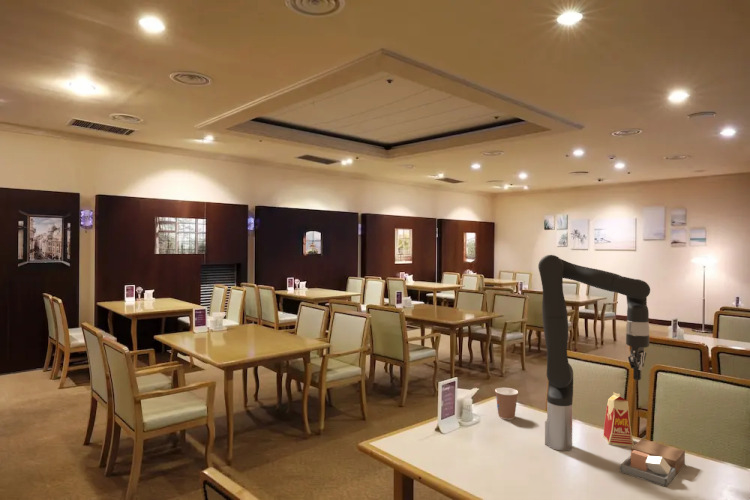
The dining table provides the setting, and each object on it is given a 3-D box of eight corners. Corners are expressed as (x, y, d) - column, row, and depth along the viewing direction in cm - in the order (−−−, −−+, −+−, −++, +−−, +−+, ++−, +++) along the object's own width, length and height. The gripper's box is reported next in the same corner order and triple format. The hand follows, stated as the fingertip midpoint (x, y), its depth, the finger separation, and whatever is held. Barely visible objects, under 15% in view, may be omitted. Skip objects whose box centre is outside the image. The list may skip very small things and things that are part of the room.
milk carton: (634, 446, 183) (634, 396, 182) (608, 444, 184) (609, 394, 184) (626, 437, 192) (626, 389, 191) (602, 435, 193) (602, 387, 193)
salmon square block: (633, 463, 167) (630, 466, 165) (634, 449, 167) (630, 452, 165) (649, 468, 163) (646, 471, 161) (649, 454, 163) (646, 457, 161)
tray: (620, 471, 162) (620, 464, 162) (631, 461, 170) (631, 455, 170) (666, 486, 152) (666, 479, 152) (675, 475, 160) (675, 468, 160)
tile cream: (656, 465, 162) (654, 473, 160) (648, 455, 161) (645, 462, 160) (670, 467, 157) (668, 474, 156) (662, 456, 157) (659, 464, 155)
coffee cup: (499, 411, 221) (499, 386, 221) (521, 415, 216) (521, 390, 215) (491, 417, 213) (491, 391, 213) (513, 422, 207) (513, 395, 207)
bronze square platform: (631, 461, 170) (631, 448, 170) (641, 451, 178) (642, 438, 178) (675, 475, 160) (675, 461, 160) (684, 464, 168) (684, 450, 168)
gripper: (632, 329, 181) (632, 374, 181) (620, 333, 172) (620, 380, 172) (654, 332, 175) (654, 378, 175) (642, 336, 166) (642, 385, 166)
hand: (637, 379), depth 174 cm, fingers closed
